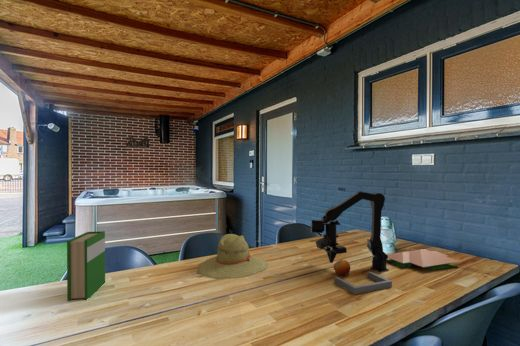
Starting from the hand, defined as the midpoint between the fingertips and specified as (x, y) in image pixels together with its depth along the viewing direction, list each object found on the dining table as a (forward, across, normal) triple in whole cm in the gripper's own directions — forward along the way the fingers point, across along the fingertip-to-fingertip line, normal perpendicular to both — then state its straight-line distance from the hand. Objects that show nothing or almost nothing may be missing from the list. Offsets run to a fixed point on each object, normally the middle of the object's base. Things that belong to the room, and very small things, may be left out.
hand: (331, 262), depth 149 cm
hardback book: (+3, -15, -114) cm, 115 cm away
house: (+4, +12, +51) cm, 52 cm away
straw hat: (+4, -23, -47) cm, 52 cm away
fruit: (+3, +9, 0) cm, 10 cm away
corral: (+3, +23, 0) cm, 23 cm away
